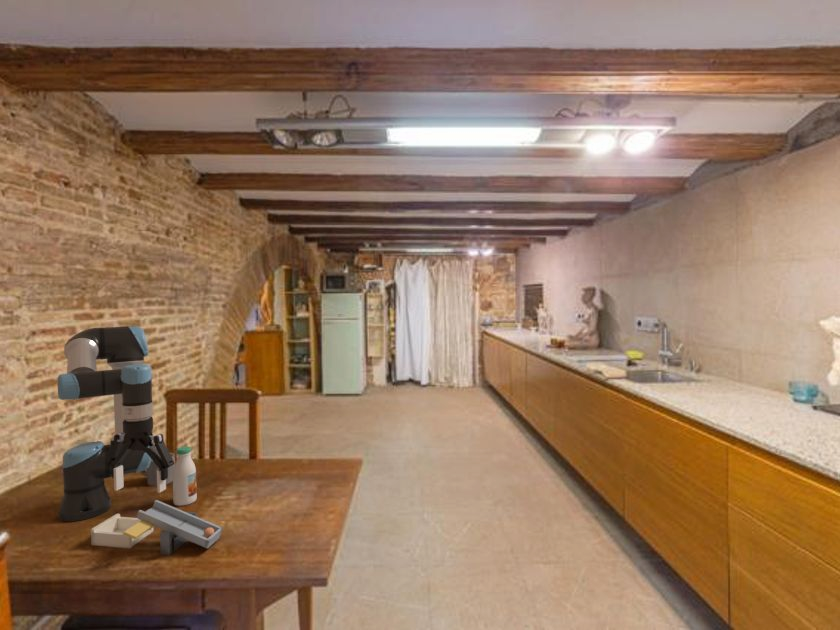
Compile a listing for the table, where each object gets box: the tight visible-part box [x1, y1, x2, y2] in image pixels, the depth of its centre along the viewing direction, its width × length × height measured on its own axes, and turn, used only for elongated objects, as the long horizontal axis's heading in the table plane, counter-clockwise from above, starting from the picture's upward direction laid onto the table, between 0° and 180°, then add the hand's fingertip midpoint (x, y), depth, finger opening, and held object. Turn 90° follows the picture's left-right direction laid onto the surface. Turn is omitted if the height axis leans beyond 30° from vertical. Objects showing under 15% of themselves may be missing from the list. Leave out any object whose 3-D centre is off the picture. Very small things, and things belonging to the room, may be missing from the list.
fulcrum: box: [159, 511, 198, 556], centre depth 140 cm, size 3×13×7 cm, turn 171°
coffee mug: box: [139, 452, 176, 487], centre depth 188 cm, size 13×10×10 cm
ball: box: [204, 528, 214, 538], centre depth 139 cm, size 3×3×3 cm
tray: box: [90, 513, 155, 549], centre depth 143 cm, size 13×10×5 cm
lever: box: [123, 499, 224, 550], centre depth 137 cm, size 24×16×3 cm, turn 82°
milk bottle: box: [172, 446, 198, 507], centre depth 168 cm, size 8×8×20 cm
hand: (140, 489), depth 134 cm, fingers open, 13 cm apart
